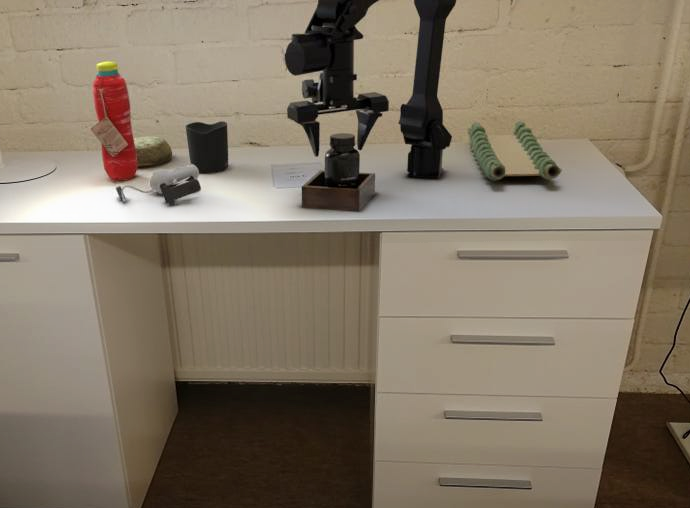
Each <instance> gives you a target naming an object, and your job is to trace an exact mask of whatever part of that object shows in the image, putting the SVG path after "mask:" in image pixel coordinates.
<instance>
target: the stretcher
mask: <svg viewBox="0 0 690 508" xmlns="http://www.w3.org/2000/svg"><path fill="white" fill-rule="evenodd" d="M467 134H468V135H469V141H470V146H471V148H472V151H473V155H474V156H475V159H476V160H477V164H478V165H479V167H480V169H481V171H482V172H483V173H484V176H486V177H487V179H489V180H491V181H493V182H495V181H500V180H501V179H503V178H504V177H535V176H537V177H540V178H543V179H544V180H545V179H546V180H549V181H550V180H553V179H556V178H558V177H559V175H561V173H562V171H563V169H562V168H561V167H559V166H558V165H557V163H556V161H555V160H554V159H552V158H551V157H550V155H549V154H547V151H544V150H543V147H542V146H541V144H540V142H538V139H537V138H536V136H535V135H534V133H533V132H532V129H531V128H529V127H527V126H526V123H525V121H524V120H518V121H517V122H516V123H515V125H514V129H513V134H511V135H510V134H506V135H504V134H503V135H499V134H498V135H488V134H487V133H486V128H485V127H483V126H482V124H481V122H479V121H474V122H472V123H471V125H470V127H468V128H467Z"/></svg>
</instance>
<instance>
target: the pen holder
mask: <svg viewBox="0 0 690 508" xmlns="http://www.w3.org/2000/svg"><path fill="white" fill-rule="evenodd" d="M185 133H186V134H185V135H186V141H187V148H188V156H189V162H190V164H193V165H195V166H196V167H197V168H198V171H199V174H216V173H220V172H224V171H226V170H227V169H228V168H229V137H228V123H227V122H226V121H222V120H221V121H217V122H215V123H205V122H201V121H194V122H190V123H187V124H186V125H185Z"/></svg>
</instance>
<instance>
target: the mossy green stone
mask: <svg viewBox="0 0 690 508" xmlns="http://www.w3.org/2000/svg"><path fill="white" fill-rule="evenodd" d="M133 139H134V144H135V149H136V154H137V163H138V166H137V167H143V166H157V165H161V164H164V163H167V162H169V161H170V160H171V159H172V157H173V150H172V147H171V146H170V143H168V141H167V140H166V139H165V138H163V137H160V136H141V137H135V138H134V137H133Z"/></svg>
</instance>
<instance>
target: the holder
mask: <svg viewBox="0 0 690 508" xmlns="http://www.w3.org/2000/svg"><path fill="white" fill-rule="evenodd" d="M375 193H376V173H374V172H359V187H358V188H357V189H350V188H334V187H325V170H318V172H316V173H315V174H314V175H313V176H312V177H311V178H310V179H308V180H307V181H306V182H305V183H304V184H303V185H302V186H301V208H311V209H312V208H313V209H324V210H336V211H337V210H338V211H349V212H350V211H352V212H360V211H361V210H362V209H363V207H364V206H365V205H367V203H368V202H369V201H370V200H371V199H372V197H373V196H374V195H375Z"/></svg>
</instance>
